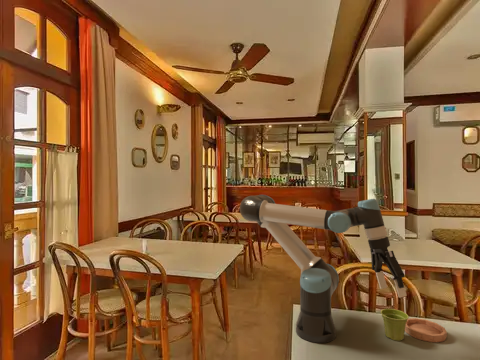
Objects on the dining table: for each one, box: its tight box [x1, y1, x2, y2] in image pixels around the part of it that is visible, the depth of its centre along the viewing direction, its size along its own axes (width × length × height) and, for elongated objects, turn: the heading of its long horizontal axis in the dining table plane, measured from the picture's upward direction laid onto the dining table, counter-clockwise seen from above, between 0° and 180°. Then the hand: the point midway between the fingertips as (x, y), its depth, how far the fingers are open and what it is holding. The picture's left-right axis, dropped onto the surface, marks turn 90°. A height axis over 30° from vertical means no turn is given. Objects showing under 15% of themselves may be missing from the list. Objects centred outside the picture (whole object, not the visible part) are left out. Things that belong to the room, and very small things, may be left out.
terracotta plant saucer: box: [404, 317, 448, 343], centre depth 114 cm, size 14×14×2 cm
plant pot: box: [380, 308, 410, 342], centre depth 111 cm, size 9×9×9 cm
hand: (392, 292), depth 114 cm, fingers open, 13 cm apart
